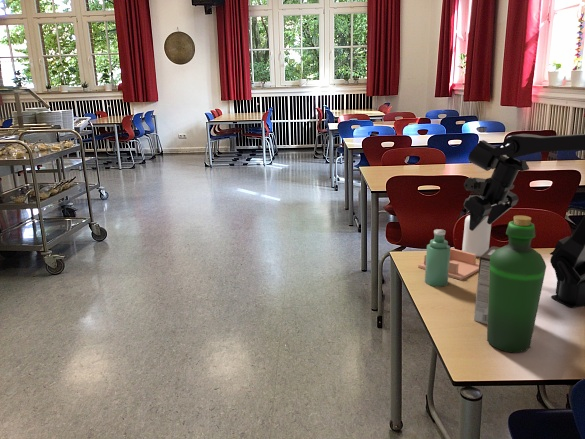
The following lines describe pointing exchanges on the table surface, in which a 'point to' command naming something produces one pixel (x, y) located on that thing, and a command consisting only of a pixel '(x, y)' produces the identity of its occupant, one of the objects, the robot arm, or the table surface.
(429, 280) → the bottle
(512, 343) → the bottle
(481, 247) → the pill bottle
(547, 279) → the table surface
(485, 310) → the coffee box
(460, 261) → the u rest
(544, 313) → the table surface
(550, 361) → the table surface
